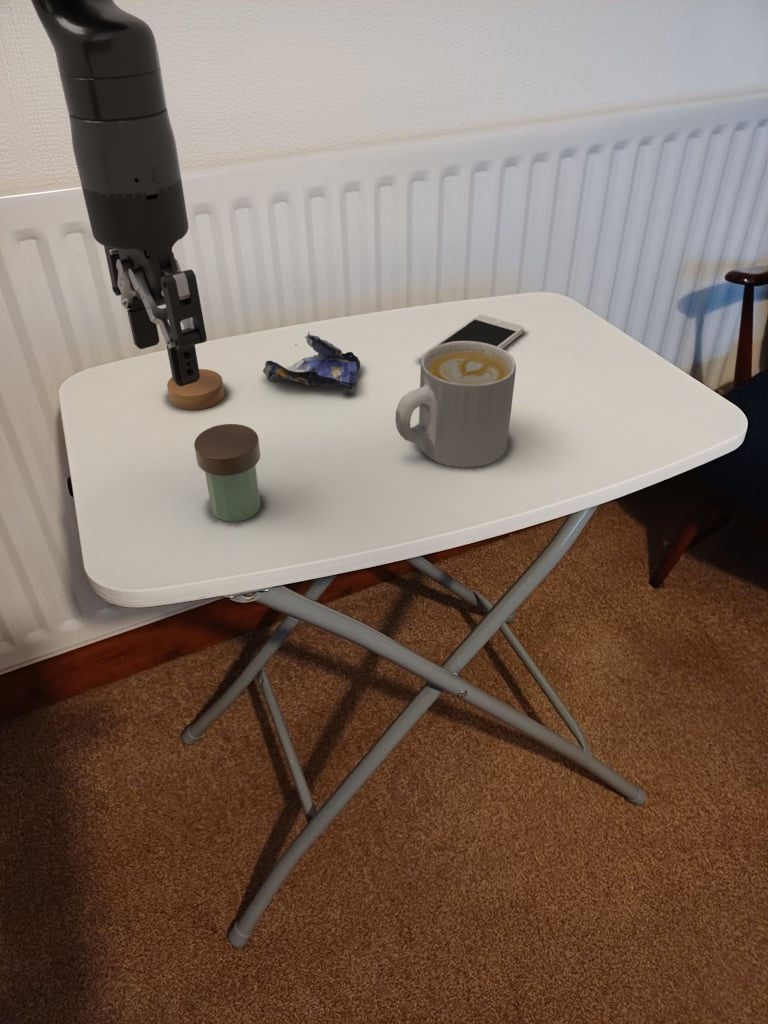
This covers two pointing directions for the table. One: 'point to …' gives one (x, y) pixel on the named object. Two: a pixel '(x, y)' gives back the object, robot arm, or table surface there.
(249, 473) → the plastic cup
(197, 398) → the oak chip
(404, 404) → the coffee mug
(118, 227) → the robot arm
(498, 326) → the smartphone
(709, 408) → the table surface
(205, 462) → the walnut chip
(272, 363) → the snack package
